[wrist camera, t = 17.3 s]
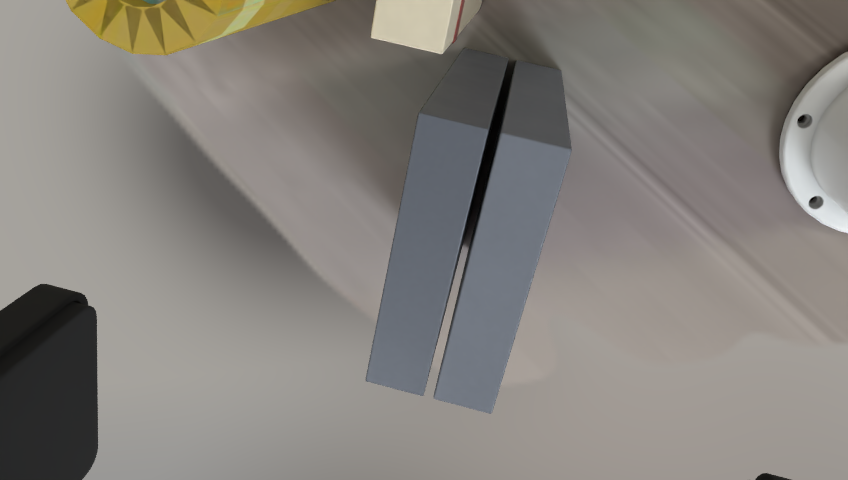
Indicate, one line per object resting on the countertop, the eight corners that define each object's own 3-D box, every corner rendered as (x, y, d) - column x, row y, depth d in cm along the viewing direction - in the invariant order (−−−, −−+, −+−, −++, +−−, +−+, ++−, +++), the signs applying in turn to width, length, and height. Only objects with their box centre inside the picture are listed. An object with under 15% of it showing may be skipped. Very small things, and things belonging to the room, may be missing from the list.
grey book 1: (561, 70, 44) (572, 148, 28) (508, 259, 50) (491, 414, 34) (516, 59, 45) (500, 131, 28) (468, 249, 51) (432, 399, 34)
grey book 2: (508, 57, 45) (488, 129, 28) (461, 247, 51) (422, 396, 34) (463, 47, 45) (418, 112, 29) (422, 238, 51) (365, 381, 35)
